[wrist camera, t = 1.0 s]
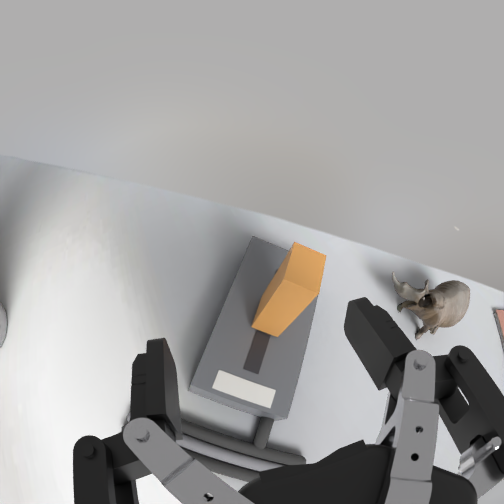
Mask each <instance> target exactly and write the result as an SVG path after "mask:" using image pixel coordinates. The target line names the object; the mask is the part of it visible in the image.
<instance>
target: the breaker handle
mask: <svg viewBox="0 0 504 504" xmlns="http://www.w3.org/2000/svg"><path fill="white" fill-rule="evenodd" d="M325 260H326V255H324V254H321V253H319V252H317V251H314V250H312V249H310V248H308V247H305V246H303V245H301V244H298V243H296V242H294V244H293V245H292V247H291V249H290V250H289V252H288V254H287V255H286V257H285V259H284V260H283V262H282V264H281V265H280V267H279V269H278V270H277V272H276V274H275V275H274V277H273V279H272V280H271V282H270V284H269V285H268V287H267V289H266V290H265V292H264V293H263V295H262V297H261V300H260V303H259V306H258V309H257V312H256V314H255V317H254V320H253V323H252V326H251V327H252V328H255V329H257V330H260V331H262V332H265V333H268V334H270V335H273V336H275V337H278V336H279V335H280V334H281V333H282V332H283V331H284V330H285V329H286V328H287V327H288V326H289V325H290V324H291V323H292V322H293V321H294V320H295V319H296V318H297V317H298V315H299V314H300V313H301V312H302V311H303V310H304V309H305V308H306V307H307V306H308V305H309V304H310V303H311V302H312V300H313V299H314V298H315V297H316V296H317V295H318V294H319V291H320V286H321V281H322V276H323V270H324V265H325Z"/></svg>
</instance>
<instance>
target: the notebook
mask: <svg viewBox="0 0 504 504" xmlns="http://www.w3.org/2000/svg"><path fill="white" fill-rule="evenodd" d="M494 317H495V319H496V322H497V326H498V330H499V333H500V337H501V341H502V345H503V349H504V310H496V313H494Z"/></svg>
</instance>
